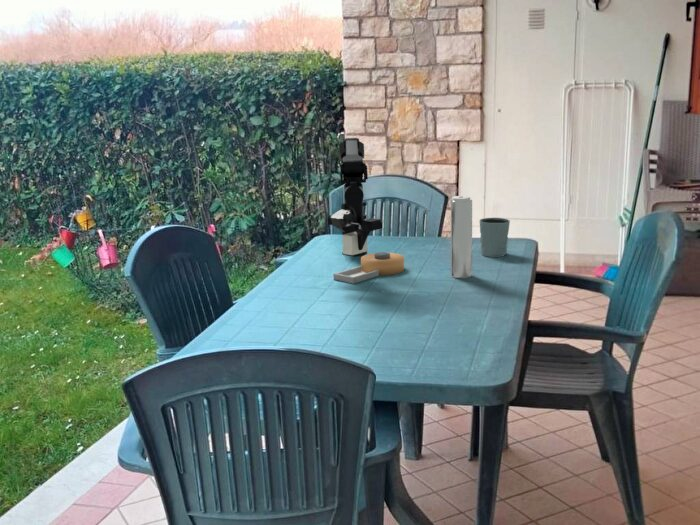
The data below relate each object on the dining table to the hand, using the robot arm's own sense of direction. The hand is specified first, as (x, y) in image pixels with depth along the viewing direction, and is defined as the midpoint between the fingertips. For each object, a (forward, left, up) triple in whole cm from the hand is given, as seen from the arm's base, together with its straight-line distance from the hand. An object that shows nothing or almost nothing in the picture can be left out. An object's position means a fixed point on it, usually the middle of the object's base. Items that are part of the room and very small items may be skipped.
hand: (355, 249), depth 252 cm
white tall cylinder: (+25, +21, -9) cm, 34 cm away
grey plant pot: (+17, +51, -10) cm, 55 cm away
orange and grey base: (0, +7, -9) cm, 11 cm away
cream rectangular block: (0, 0, -1) cm, 1 cm away
